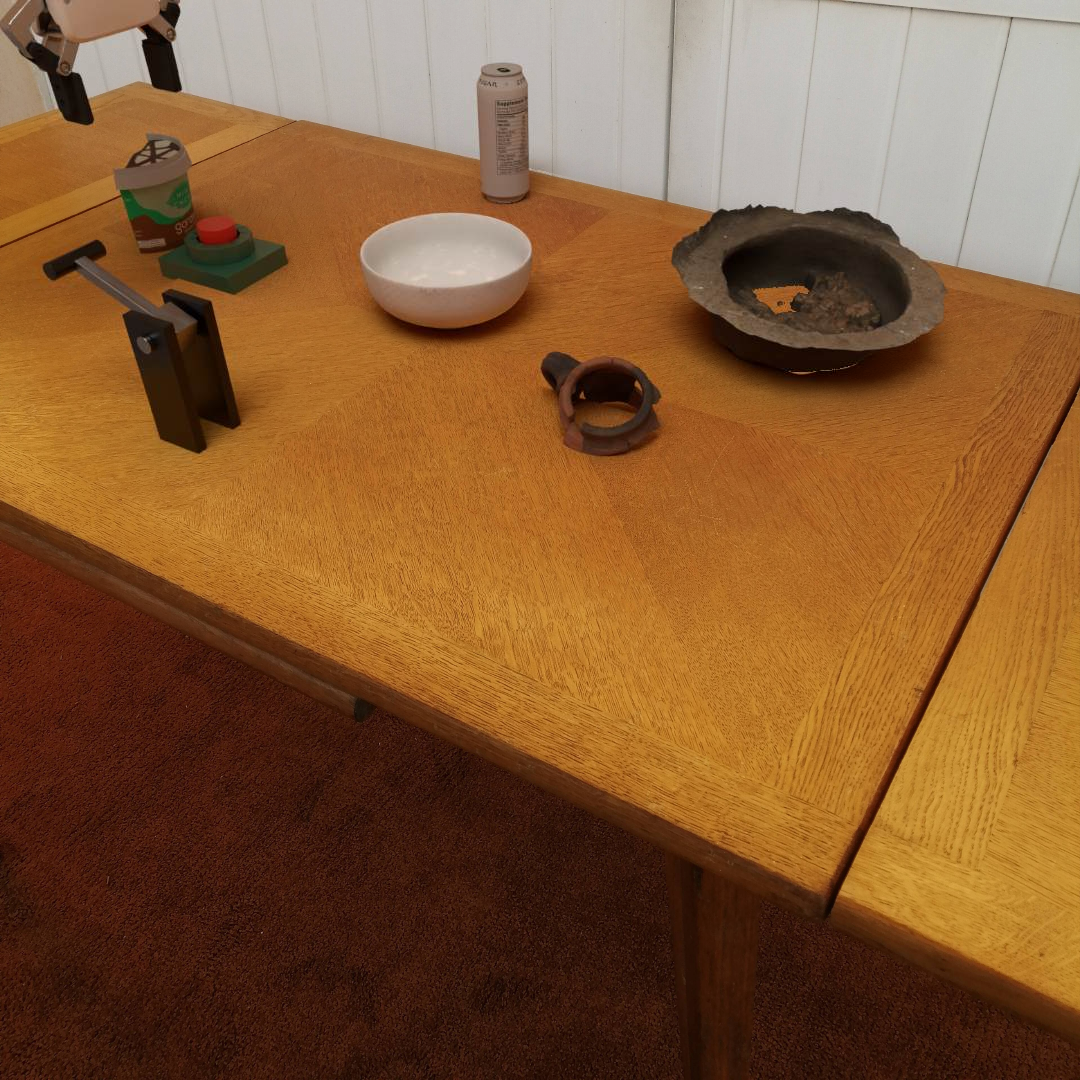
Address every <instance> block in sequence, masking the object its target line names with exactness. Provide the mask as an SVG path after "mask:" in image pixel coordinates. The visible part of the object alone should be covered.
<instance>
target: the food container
mask: <svg viewBox="0 0 1080 1080" xmlns="http://www.w3.org/2000/svg"><path fill="white" fill-rule="evenodd" d="M145 136H146V141H147V142H146V144H145V145H144V146H143V148H141V149H140V150H138V151H137V152H135V153H133V154H132V156H131V157H130V158H129V161H128V162H127V164H126V166H125V167H124V168H112V171H113V179H114V185H115V189H116V191H119V193H120V196H121V199H122V202H123V205H124V208H125V211H126V214H127V218H128V221H129V223H130V226H131V229H132V232H133V235H134V238H135V241H136V244H137V247H138V250H139V253H140V255H146V254H155V253H163V252H169V251H172V250H174V249H176V248H178V247H180V246H182V245H184V244H185V242H184V239H185V237H186V236H187V234H188V233H189V232H191V231H193V230H195V229H197V228H196V224H197V222H196V217H195V216H196V215H195V210H194V204H193V199H192V193H191V192H192V191H191V186H190V180H189V173H188V171H190V169H191V168H192V164H193V162H192V160H191V157H190V155H189V153H188V151H187V149H186V147H185V146H184V145H183V144H182V141H181V140H180V139H179V138H177V137H175V136H172V135H168V134H163V133H153V132H152V133H151V132H146V133H145Z"/></svg>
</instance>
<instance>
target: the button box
mask: <svg viewBox="0 0 1080 1080" xmlns="http://www.w3.org/2000/svg"><path fill="white" fill-rule="evenodd" d="M235 226H236V230H237V235H238V238H237V239H236V240H234V241H232V242H229V243H224V244H220V245H206V244H202V243H200V240H199V236H198V232H197V228H196V229H195V230H193V231H191V232H189V233H188V234H187V236H186V237H185V239H184V242H185V244H184V245H182V246H180V247H178V248H175V249H171V250H169V251H167V252H166V253H164V254H163V255H161V256H158V257H157V260H158V264H159V267H160V271H161V275H162V277H164V278H168V279H171V280H174V281H176V280H178V279H179V280H181V281H185V282H189V283H192V284H196V285H198V286H202V287H205V288H208V289H212V290H214V291H215V290H216V291H219V292H222V293H225V294H229V295H233V296H235V295H236V294H238V293H240V292H242V291H244V290H246V289H247V288H248V287H249V288H250V287H251V286H252V285H254V284H256V283H257V282H259V281H261V280H263V279H264V278H266V277H268V276H269V275H271V274H273V273H275V272H276V271H279V270H280V269H282V268H283V267H285V266H287V265H288V263H289V262H288V256H287V252H286V246H285V245H283V244H280V243H276V242H272V241H268V240H265V239H261V238H257V237H254V235H253V232H252V230H251V229H250V228H249V227H248V226H247V225H243V224H239V223H236V222H235Z"/></svg>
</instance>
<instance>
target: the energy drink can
mask: <svg viewBox="0 0 1080 1080" xmlns="http://www.w3.org/2000/svg"><path fill="white" fill-rule="evenodd" d="M480 72H481V73H480V75H479V77H478V79H477V82H476V102H477V103H476V104H477V105H476V106H477V124H478V126H477V127H478V144H479V145H478V146H479V169H480V186H481V187H480V189H481V192H483V193H484V195H485V198H486V197H487V198H486V199H487V200H488V201H490V202H492V203H496V202H497V204H511V202H513V203H517V202H519V201H518V200H520V201H522V200H523V199H524V198H525V197H526V193H527V192H528V191H529V190H530V146H529V142H530V140H529V139H530V138H529V83H528V80H527V79H526V77H525V75H524V73H523V66H522V65H520V64H517V63H512V62H492V63H487V64H485V65H483V66H481V68H480ZM524 196H525V197H524ZM523 197H524V198H523ZM522 198H523V199H522ZM521 199H522V200H521ZM516 201H517V202H516Z"/></svg>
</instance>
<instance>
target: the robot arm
mask: <svg viewBox="0 0 1080 1080" xmlns="http://www.w3.org/2000/svg"><path fill="white" fill-rule="evenodd" d="M180 3H181V0H16V1H15V2H14V4H12V6H11V7H10V8H9V9H8V11H7V12H6V13H5V15H4V16H3V17H2V18H1V19H0V30H1V32H2V33H3V34H4V35H5V36H6V37H7V38H8V39H9V41H10V42H11V43H12V45H13V46H15V47H16V48H17V50H18V52H19V54H20V55H21V56H22V57H23V58H25V59H26V60H27V61H29V62H30V63H32V64H33V65H35V66H36V67H37V68H38V69H39V71H41V72H44V73H46V74H47V77H48V80H49V84H50V86H51V91H52V93H53V96H54V99H55V102H56V105H57V108H58V110H59V112H60V114H61V115H62V117H63V119H64V120H65V121H67V122H70V123H73V124H78V125H82V126H91V125H92V124H94V122H95V117H94V114H93V111H92V107H91V105H90V101H89V97H88V94H87V91H86V87H85V84H84V80H83V78H82V75H81V74H80V73H79V72H75V71H73V69H74V65H75V61H76V57H77V54H78V51H79V47H80V44H86V43H90V42H94V41H96V40H101V39H104V38H107V37H111V36H114V35H117V34H120V33H123V32H127V31H130V30H134V29H138V30H139V31H140V32H141V33H142V34H143V35H144V36H145V37H146V38H144V39H143V38H142V39H141V48H142V52H143V56H144V60H145V63H146V67H147V71H148V75H149V79H150V82H151V86H152V88H154V89H156V90H161V91H165V92H171V93H176V94H177V93H179V92H181V91H183V86H182V82H181V77H180V72H179V68H178V64H177V60H176V56H175V51H174V47H173V42H175V41H176V39H177V31H176V27H177V24H178V22H179V19H180V16H181V8H180V5H179V4H180ZM31 30H32V31H31ZM32 32H33V33H34V34H35V35H36V36H38V37H41V38H42V40H41V42H38V41H37V40H36V38H35V36H34V34H33V33H32Z"/></svg>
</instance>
